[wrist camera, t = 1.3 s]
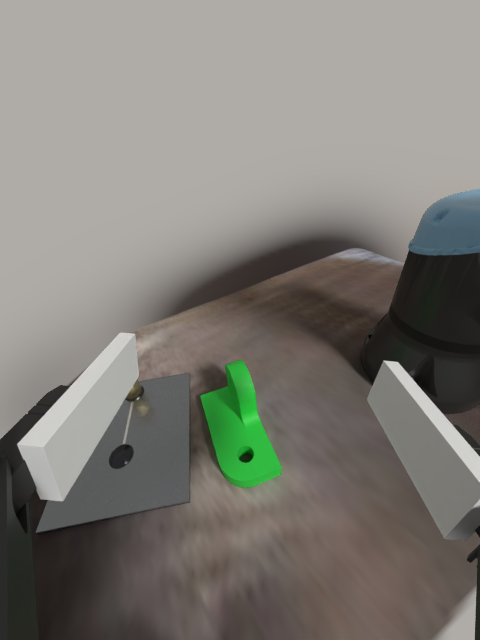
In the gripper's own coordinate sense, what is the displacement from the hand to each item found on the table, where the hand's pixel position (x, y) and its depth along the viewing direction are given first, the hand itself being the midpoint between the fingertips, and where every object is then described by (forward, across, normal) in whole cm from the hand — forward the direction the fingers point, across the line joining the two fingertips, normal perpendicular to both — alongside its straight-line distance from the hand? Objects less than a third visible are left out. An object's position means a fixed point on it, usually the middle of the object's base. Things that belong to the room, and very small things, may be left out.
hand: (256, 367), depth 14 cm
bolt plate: (+11, -13, -21) cm, 27 cm away
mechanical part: (+11, 0, -19) cm, 22 cm away
